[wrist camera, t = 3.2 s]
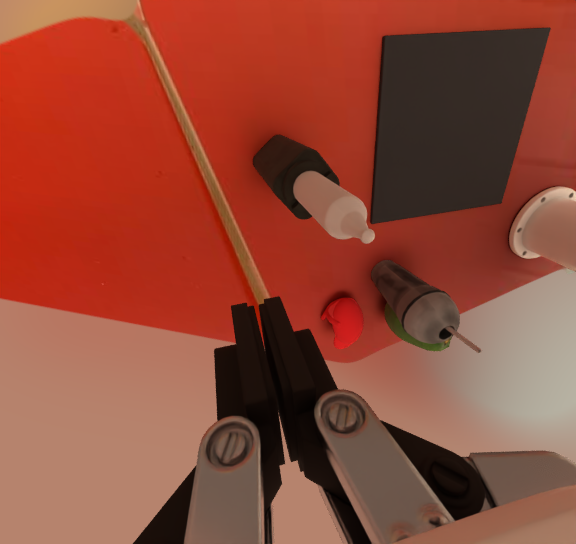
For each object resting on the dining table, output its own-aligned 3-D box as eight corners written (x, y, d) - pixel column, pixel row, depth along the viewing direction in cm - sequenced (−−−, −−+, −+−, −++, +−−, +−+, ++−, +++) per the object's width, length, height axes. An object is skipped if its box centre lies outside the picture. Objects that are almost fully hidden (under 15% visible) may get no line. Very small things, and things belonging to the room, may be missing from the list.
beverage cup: (357, 290, 51) (434, 385, 34) (370, 250, 48) (462, 333, 31) (395, 292, 53) (485, 382, 36) (410, 253, 50) (517, 333, 33)
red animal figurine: (321, 293, 50) (334, 315, 45) (355, 288, 51) (372, 309, 46) (318, 332, 54) (331, 357, 48) (351, 327, 55) (366, 350, 50)
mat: (546, 28, 38) (551, 27, 38) (498, 202, 49) (501, 203, 49) (382, 36, 35) (385, 35, 34) (370, 222, 46) (371, 224, 45)
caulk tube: (248, 161, 38) (308, 241, 16) (279, 130, 37) (383, 171, 15) (276, 191, 40) (359, 294, 19) (305, 162, 39) (427, 236, 18)
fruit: (376, 284, 51) (419, 330, 41) (419, 274, 53) (471, 316, 42) (374, 322, 55) (413, 372, 45) (414, 312, 57) (461, 359, 46)
